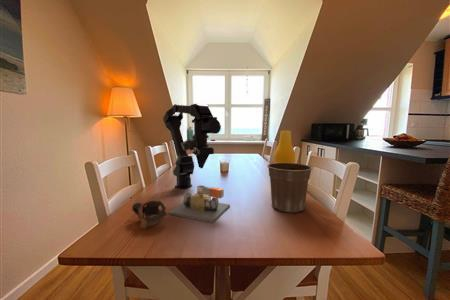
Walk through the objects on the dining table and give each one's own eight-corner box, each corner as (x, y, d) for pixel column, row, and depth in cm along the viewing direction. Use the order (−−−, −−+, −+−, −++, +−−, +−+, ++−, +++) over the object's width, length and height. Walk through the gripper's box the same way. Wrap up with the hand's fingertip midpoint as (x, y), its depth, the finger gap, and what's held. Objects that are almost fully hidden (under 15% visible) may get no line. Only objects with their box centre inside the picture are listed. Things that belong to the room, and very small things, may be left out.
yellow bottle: (271, 194, 95) (273, 130, 91) (274, 189, 103) (276, 130, 100) (292, 197, 91) (295, 131, 88) (294, 191, 100) (297, 130, 96)
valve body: (183, 207, 77) (182, 192, 76) (190, 203, 82) (190, 189, 81) (212, 213, 72) (212, 197, 72) (218, 208, 77) (218, 193, 76)
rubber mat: (169, 214, 73) (169, 211, 73) (191, 200, 87) (191, 198, 87) (212, 222, 67) (212, 220, 67) (229, 206, 81) (229, 204, 81)
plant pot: (263, 199, 89) (264, 161, 87) (301, 199, 89) (303, 162, 87) (270, 215, 73) (271, 170, 71) (317, 216, 73) (319, 170, 71)
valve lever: (195, 193, 76) (195, 186, 75) (199, 191, 78) (199, 184, 78) (220, 198, 71) (220, 190, 70) (224, 196, 73) (224, 188, 73)
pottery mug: (171, 217, 72) (172, 201, 67) (157, 241, 65) (157, 225, 60) (140, 206, 74) (138, 190, 69) (122, 229, 66) (119, 212, 61)
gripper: (178, 132, 98) (179, 165, 100) (187, 134, 81) (187, 173, 83) (201, 132, 102) (201, 163, 104) (214, 133, 85) (214, 171, 87)
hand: (200, 167), depth 94 cm, fingers closed
